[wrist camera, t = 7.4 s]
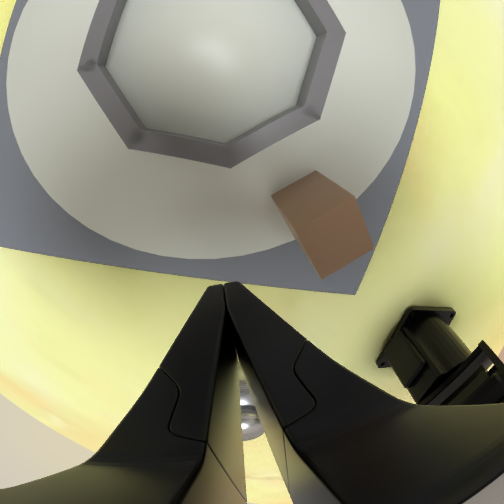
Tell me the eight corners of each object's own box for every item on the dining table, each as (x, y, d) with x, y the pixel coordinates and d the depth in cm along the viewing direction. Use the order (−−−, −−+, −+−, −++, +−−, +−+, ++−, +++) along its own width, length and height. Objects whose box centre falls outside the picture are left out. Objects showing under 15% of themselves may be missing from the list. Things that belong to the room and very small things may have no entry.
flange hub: (282, 362, 22) (297, 409, 18) (263, 405, 25) (272, 447, 21) (203, 358, 21) (206, 409, 17) (195, 403, 23) (197, 448, 19)
